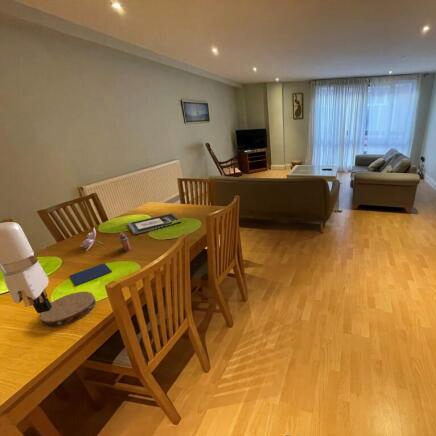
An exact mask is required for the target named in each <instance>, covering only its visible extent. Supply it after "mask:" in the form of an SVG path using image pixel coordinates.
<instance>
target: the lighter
mask: <svg viewBox="0 0 436 436" xmlns="http://www.w3.org/2000/svg"><path fill="white" fill-rule="evenodd" d="M119 234H120V235H119V240H120V244H121V246H122V250H123V251H124V252H125V253H128V252H131V251H132V248H131V246H130V242H129V238H128V236H127V235H126V234H125V233H124V232H123V231H122V232H120V233H119Z"/></svg>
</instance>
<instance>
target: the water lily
mask: <svg viewBox="0 0 436 436" xmlns="http://www.w3.org/2000/svg"><path fill="white" fill-rule="evenodd" d="M92 229H93V230H92V231H90V232H89V233H87V234H86V237H87V238H86V239H85V240H83V241H82V242H81V245H80V247H84V249H85V252H87V251H89V249H90V248H91V247H92V246H93V244H94V242H96V243H98V244H100V245H103V243H102V242H101V241H98V240H96V237H97V231H96V229H95V227H93V228H92Z"/></svg>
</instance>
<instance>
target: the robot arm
mask: <svg viewBox="0 0 436 436" xmlns="http://www.w3.org/2000/svg"><path fill="white" fill-rule="evenodd" d="M0 271H1V273H2V274H3V280H4V283H5V286H6V289H7V291H8V293H9V295H10V297H11V299H12V301H13V302H14V304H20V303H22V302H23V305H24V307H26V308H27V307H31V306H32V307H33V308H34V310H35V312H36V313H37V314H40V313H42V312H46V311H50V309H51V308H52V305H51V303H52V302H50V299H49V298H48V294H47V291H46V290H47V287H48V285H49V283H50V280H49V277H48V276H47V273H46V272H45V270H44V269H43V267H42V265H41V264H40V263H39V260H38V258H37V256H36V254H35V252H34V250H33V249H32V246H31V244H30V242H29V240H28V238H27V236H26V234H25V232H24V230H23V227H21V225H20V224H19V223H18V222H15V221H5V222H4V221H3V222H0Z"/></svg>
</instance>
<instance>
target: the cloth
mask: <svg viewBox="0 0 436 436" xmlns="http://www.w3.org/2000/svg"><path fill="white" fill-rule="evenodd" d="M112 272H113V271H112V270H111V269H110V267H109V266H108V265H107V264H106V263H105V262H102V263H100V264H98V265H95V266H92V267H89V268H86V269H84V270H80V271H78V272H75V273H72V274H70V275H69V277H70V278H71V280H72V282H73V285H74V286H75V287H77V286H80V285H83V284H86V283H88V282H91V281H93V280H95V279H98V278H100V277H104V276H105V275H108V274H111V273H112Z"/></svg>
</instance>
